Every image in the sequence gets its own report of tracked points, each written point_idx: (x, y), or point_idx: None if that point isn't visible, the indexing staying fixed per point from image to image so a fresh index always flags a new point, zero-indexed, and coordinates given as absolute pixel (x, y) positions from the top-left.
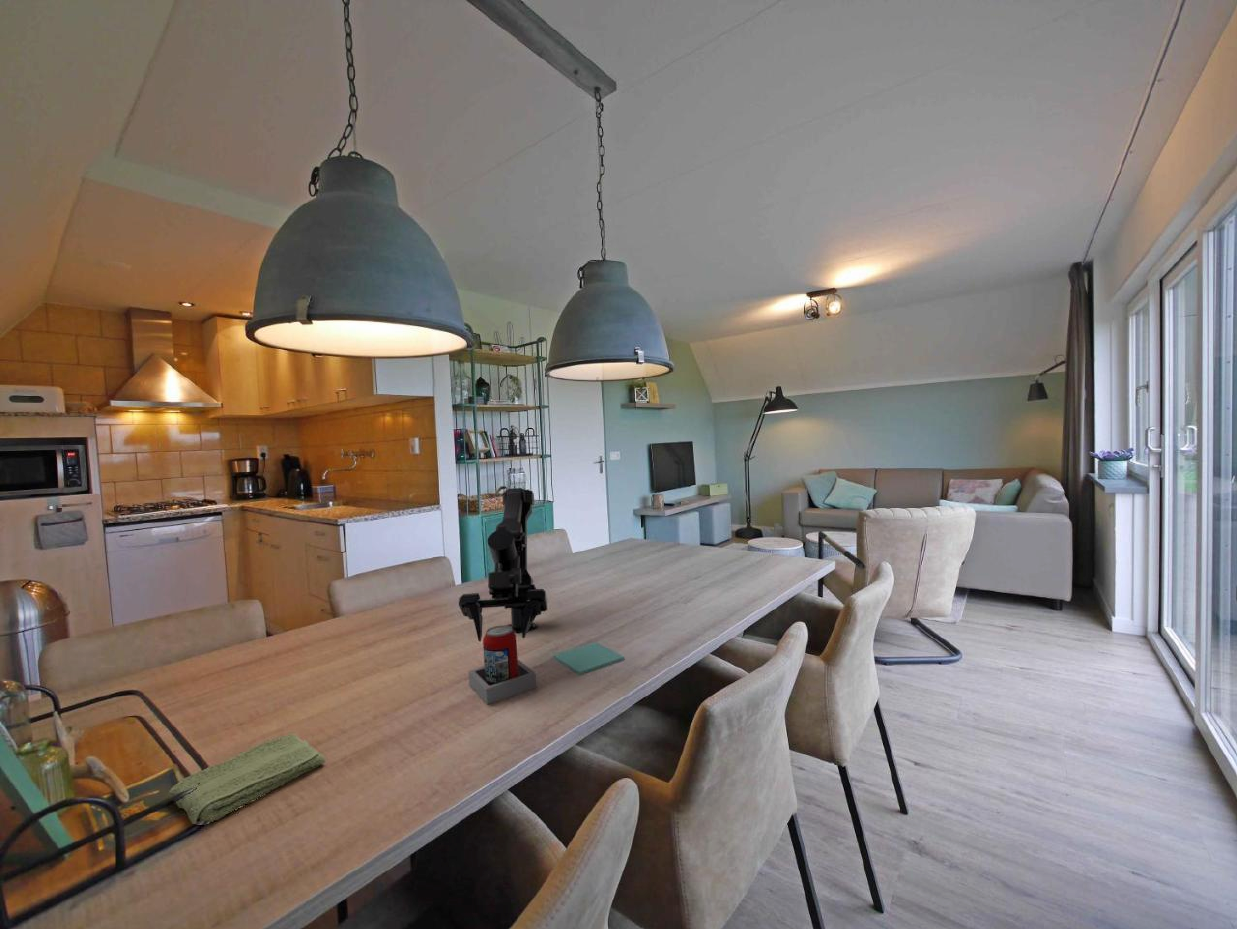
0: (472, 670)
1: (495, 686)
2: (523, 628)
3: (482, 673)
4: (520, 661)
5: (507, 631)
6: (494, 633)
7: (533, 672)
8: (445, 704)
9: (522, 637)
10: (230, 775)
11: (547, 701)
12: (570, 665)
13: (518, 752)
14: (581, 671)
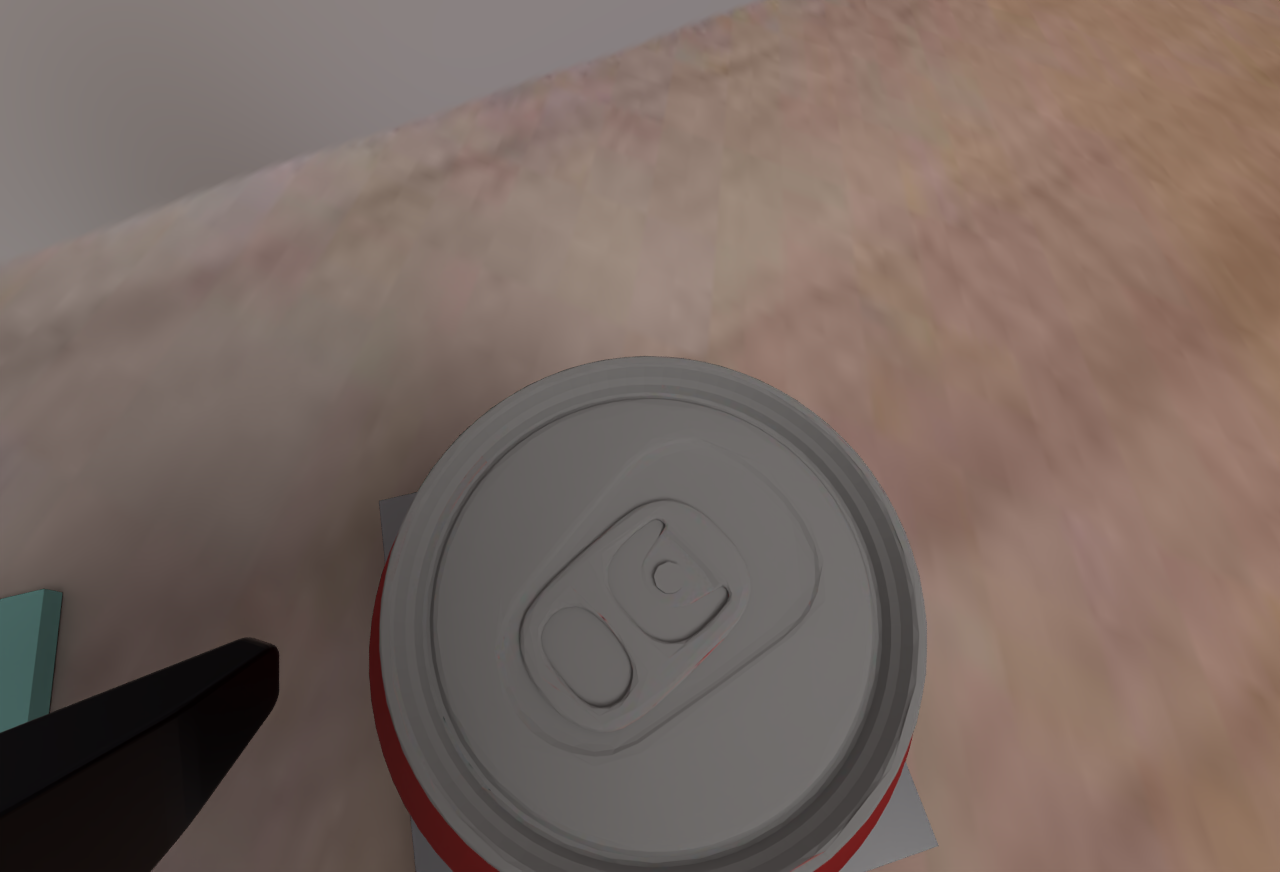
0: (899, 841)
1: None
2: (141, 711)
3: None
4: (414, 845)
5: (511, 478)
6: (752, 508)
7: (390, 526)
8: (1004, 568)
9: (278, 671)
10: None
11: (419, 344)
12: None
13: (645, 70)
14: (19, 595)
